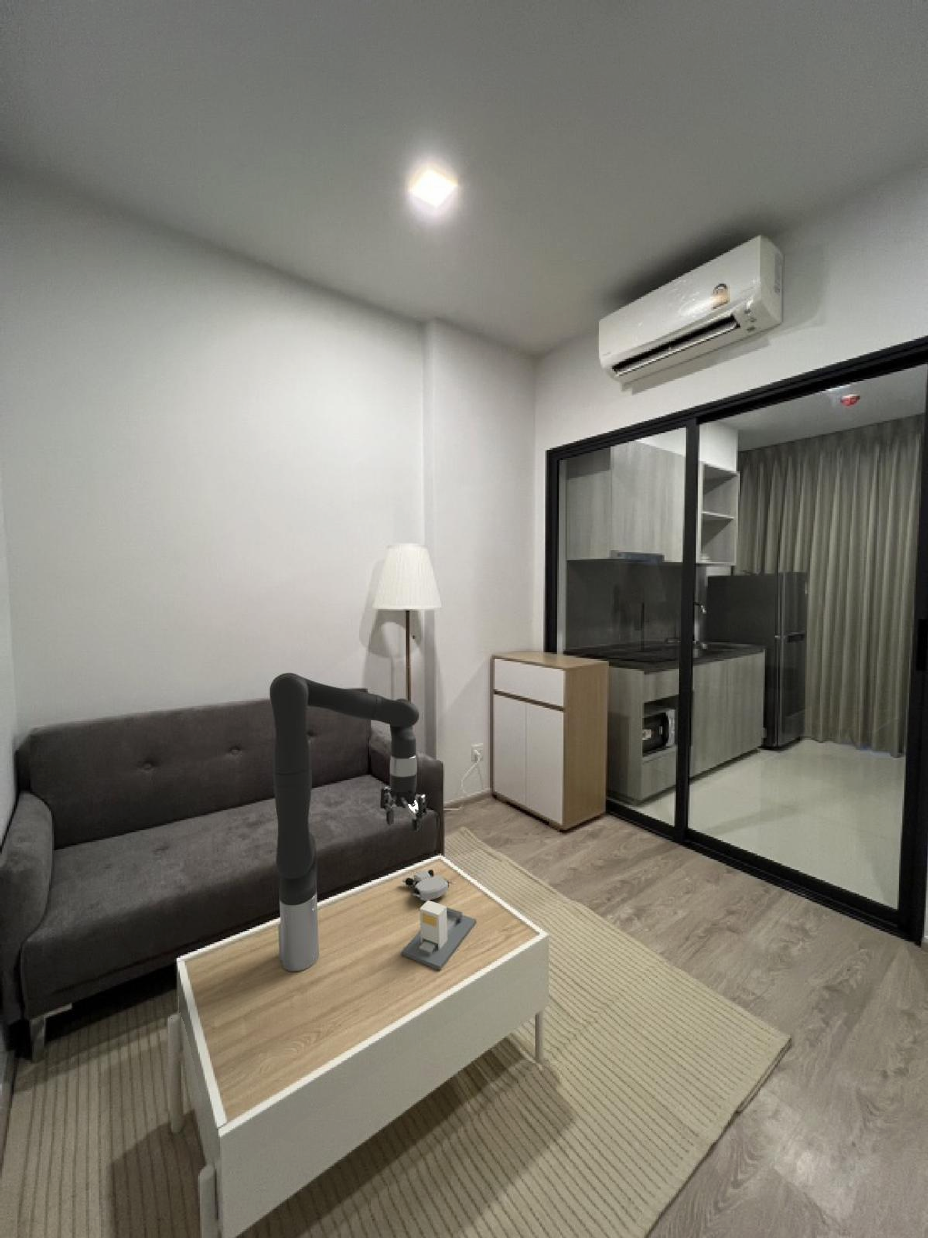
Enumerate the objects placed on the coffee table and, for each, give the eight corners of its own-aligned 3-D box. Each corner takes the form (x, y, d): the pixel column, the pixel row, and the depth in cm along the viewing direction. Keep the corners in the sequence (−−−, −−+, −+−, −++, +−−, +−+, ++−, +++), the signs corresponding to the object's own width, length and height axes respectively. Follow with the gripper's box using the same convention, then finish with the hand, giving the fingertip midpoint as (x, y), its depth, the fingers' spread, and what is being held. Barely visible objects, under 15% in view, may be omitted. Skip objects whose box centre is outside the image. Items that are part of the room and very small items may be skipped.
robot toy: (400, 889, 158) (420, 910, 145) (399, 875, 158) (419, 894, 146) (433, 876, 165) (455, 896, 152) (432, 863, 165) (454, 881, 152)
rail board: (401, 954, 127) (401, 951, 127) (440, 910, 145) (440, 907, 145) (440, 970, 122) (440, 966, 122) (476, 922, 139) (476, 919, 139)
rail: (416, 950, 127) (416, 941, 127) (447, 914, 142) (446, 906, 141) (433, 956, 125) (432, 947, 125) (462, 920, 139) (462, 912, 139)
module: (420, 942, 130) (419, 908, 130) (428, 933, 134) (427, 900, 134) (439, 950, 127) (438, 915, 127) (447, 940, 131) (446, 906, 131)
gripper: (374, 770, 136) (374, 827, 137) (417, 779, 130) (416, 839, 130) (390, 762, 143) (390, 817, 143) (431, 771, 136) (431, 827, 137)
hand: (402, 827), depth 137 cm, fingers open, 8 cm apart
